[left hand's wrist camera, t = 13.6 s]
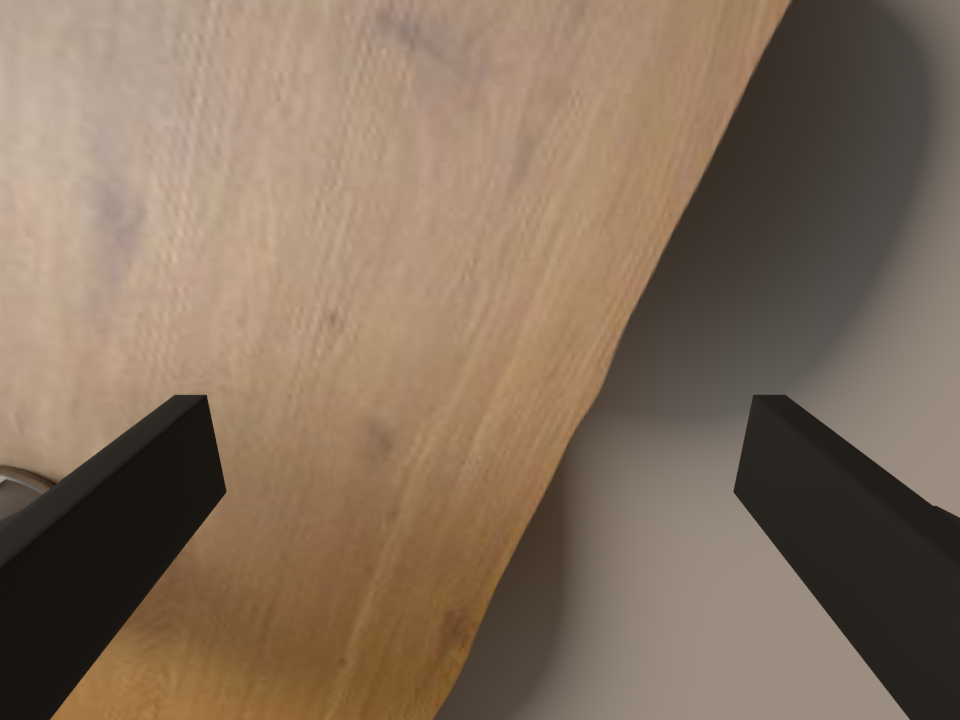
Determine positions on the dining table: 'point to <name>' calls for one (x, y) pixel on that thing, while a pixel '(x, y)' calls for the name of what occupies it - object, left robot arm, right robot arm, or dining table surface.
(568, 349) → the dining table surface
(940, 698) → the left robot arm
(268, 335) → the dining table surface
